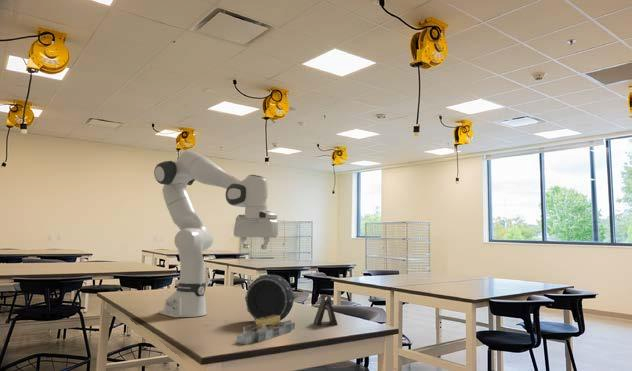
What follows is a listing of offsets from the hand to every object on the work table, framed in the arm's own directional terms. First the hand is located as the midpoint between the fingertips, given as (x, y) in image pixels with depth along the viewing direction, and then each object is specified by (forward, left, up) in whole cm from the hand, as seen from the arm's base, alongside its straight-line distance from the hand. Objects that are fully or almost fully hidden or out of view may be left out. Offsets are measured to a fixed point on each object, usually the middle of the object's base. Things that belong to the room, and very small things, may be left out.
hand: (254, 248), depth 170 cm
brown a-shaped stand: (+19, +26, -31) cm, 45 cm away
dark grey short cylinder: (-1, +13, -31) cm, 34 cm away
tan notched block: (+12, -5, -31) cm, 34 cm away
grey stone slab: (+12, -5, -31) cm, 34 cm away
